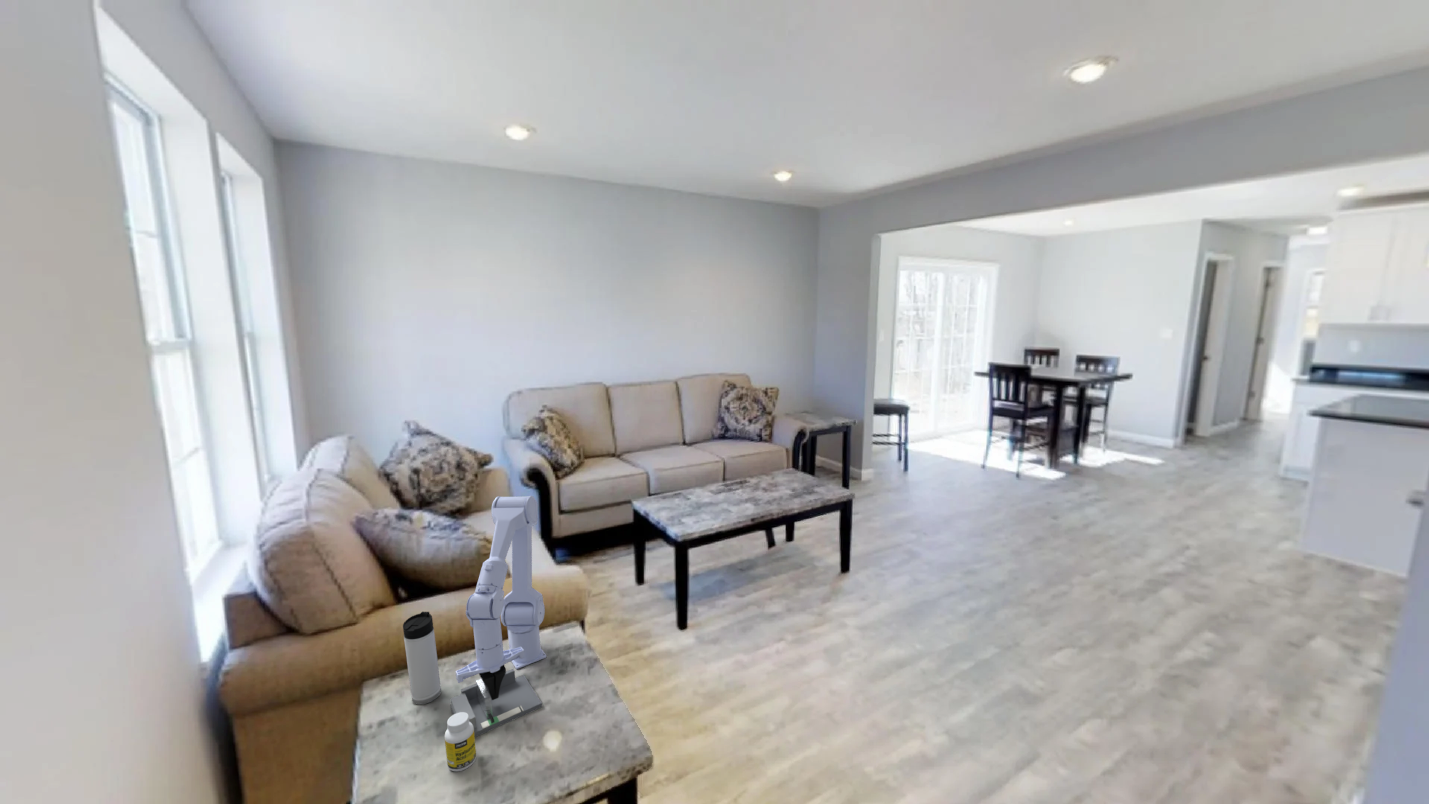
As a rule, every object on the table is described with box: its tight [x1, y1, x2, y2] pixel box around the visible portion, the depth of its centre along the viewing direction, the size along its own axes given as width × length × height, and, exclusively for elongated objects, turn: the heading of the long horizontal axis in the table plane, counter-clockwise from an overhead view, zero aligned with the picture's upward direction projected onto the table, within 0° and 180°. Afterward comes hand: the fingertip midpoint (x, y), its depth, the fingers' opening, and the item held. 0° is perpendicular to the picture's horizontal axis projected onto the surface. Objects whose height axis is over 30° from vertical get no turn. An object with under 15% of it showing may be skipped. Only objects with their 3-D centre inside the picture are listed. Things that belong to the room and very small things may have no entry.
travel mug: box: [402, 611, 442, 705], centre depth 132 cm, size 6×7×20 cm
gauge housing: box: [449, 668, 543, 738], centre depth 128 cm, size 13×17×4 cm
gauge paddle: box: [475, 678, 494, 723], centre depth 125 cm, size 11×1×5 cm, turn 37°
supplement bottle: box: [444, 712, 477, 772], centre depth 112 cm, size 5×5×10 cm
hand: (494, 696), depth 128 cm, fingers closed
